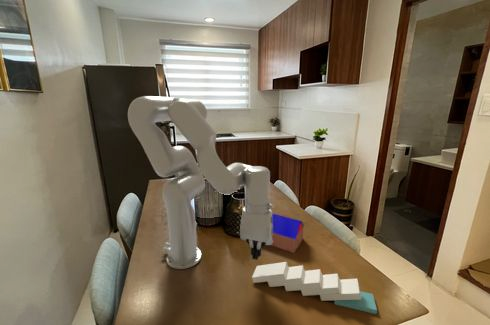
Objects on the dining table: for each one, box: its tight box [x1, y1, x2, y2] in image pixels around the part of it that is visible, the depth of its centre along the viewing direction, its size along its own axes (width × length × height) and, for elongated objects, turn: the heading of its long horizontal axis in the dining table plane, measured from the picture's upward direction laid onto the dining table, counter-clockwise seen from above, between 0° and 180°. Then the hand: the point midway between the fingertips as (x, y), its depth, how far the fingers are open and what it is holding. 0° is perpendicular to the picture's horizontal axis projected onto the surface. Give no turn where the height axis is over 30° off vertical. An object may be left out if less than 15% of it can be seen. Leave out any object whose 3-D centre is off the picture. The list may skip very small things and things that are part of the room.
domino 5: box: [319, 278, 361, 302], centre depth 70 cm, size 2×6×11 cm
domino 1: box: [251, 261, 290, 284], centre depth 77 cm, size 2×6×11 cm
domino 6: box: [333, 290, 378, 315], centre depth 70 cm, size 2×6×11 cm
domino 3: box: [284, 268, 323, 292], centre depth 74 cm, size 2×6×11 cm
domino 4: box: [300, 273, 341, 297], centre depth 72 cm, size 2×6×11 cm
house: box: [271, 213, 305, 254], centre depth 100 cm, size 12×20×12 cm, turn 59°
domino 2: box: [267, 264, 306, 288], centre depth 75 cm, size 2×6×11 cm
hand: (256, 257), depth 78 cm, fingers closed
